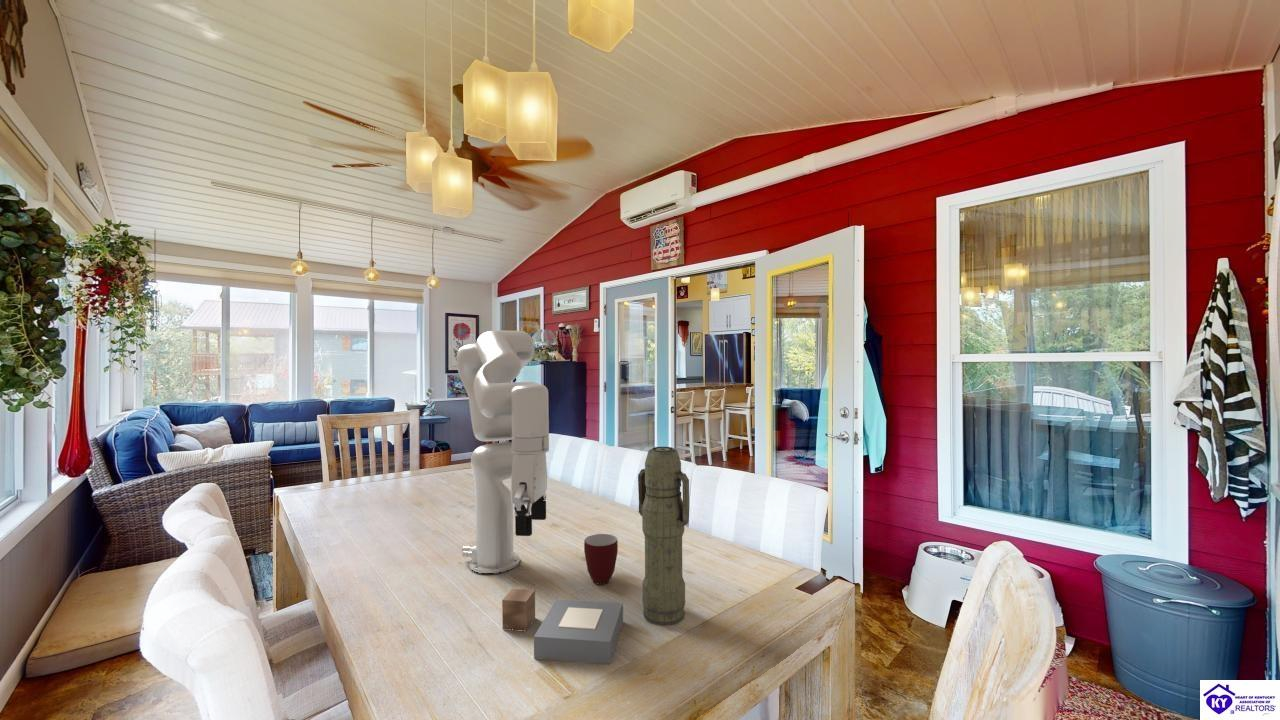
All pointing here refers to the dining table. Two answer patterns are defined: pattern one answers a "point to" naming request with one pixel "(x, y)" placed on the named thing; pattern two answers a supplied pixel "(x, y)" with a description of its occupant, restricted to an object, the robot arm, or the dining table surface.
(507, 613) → the walnut block
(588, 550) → the mug
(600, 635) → the slate pedestal
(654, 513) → the thermos
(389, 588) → the dining table surface
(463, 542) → the dining table surface
